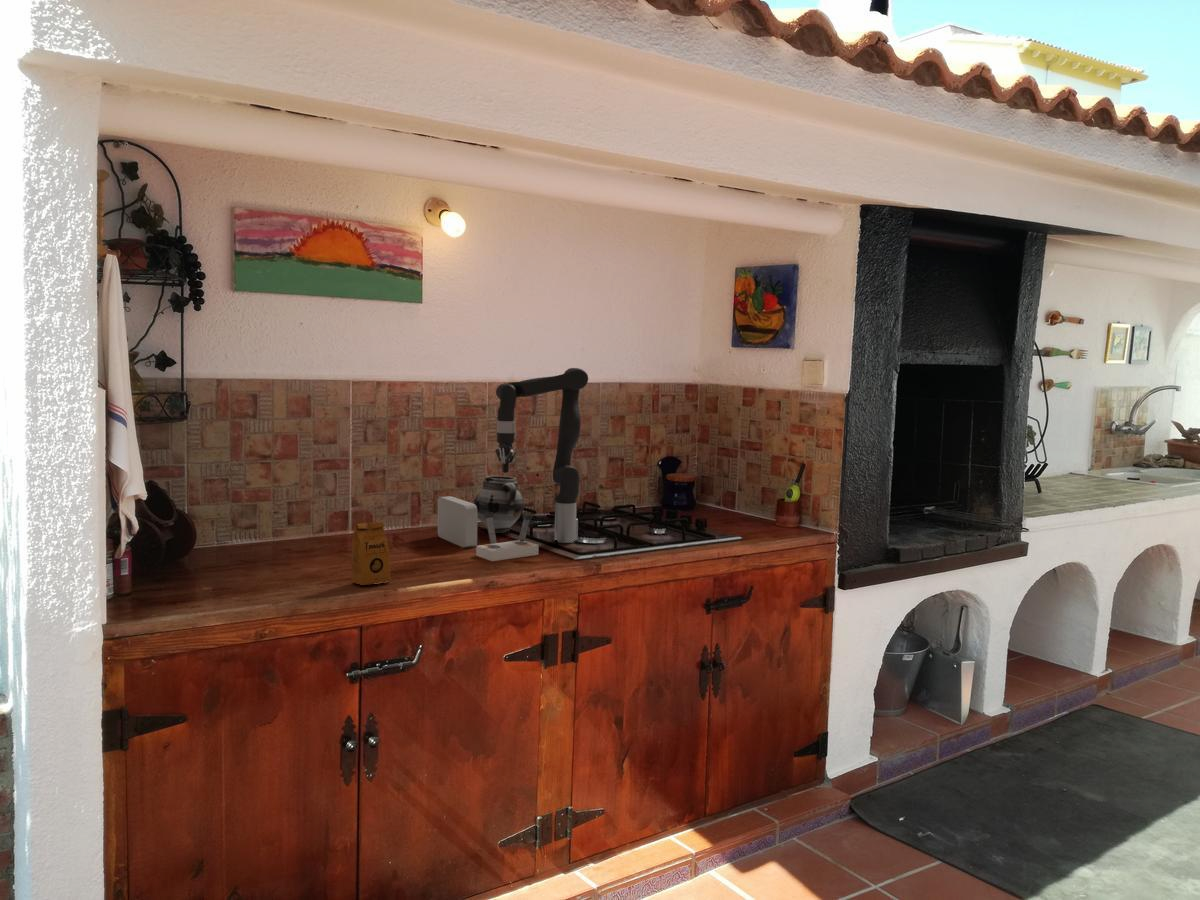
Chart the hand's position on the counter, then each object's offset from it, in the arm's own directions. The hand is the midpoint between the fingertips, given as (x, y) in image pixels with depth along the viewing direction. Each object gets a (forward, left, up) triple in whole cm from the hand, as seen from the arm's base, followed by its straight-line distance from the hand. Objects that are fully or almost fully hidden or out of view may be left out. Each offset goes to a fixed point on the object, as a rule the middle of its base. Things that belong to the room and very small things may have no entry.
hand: (505, 472), depth 406 cm
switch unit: (+10, +18, -31) cm, 37 cm away
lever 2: (+3, +18, -26) cm, 32 cm away
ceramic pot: (-14, -27, -31) cm, 44 cm away
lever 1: (+16, +18, -26) cm, 36 cm away
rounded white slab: (+14, -16, -31) cm, 38 cm away
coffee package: (+75, +31, -31) cm, 87 cm away
